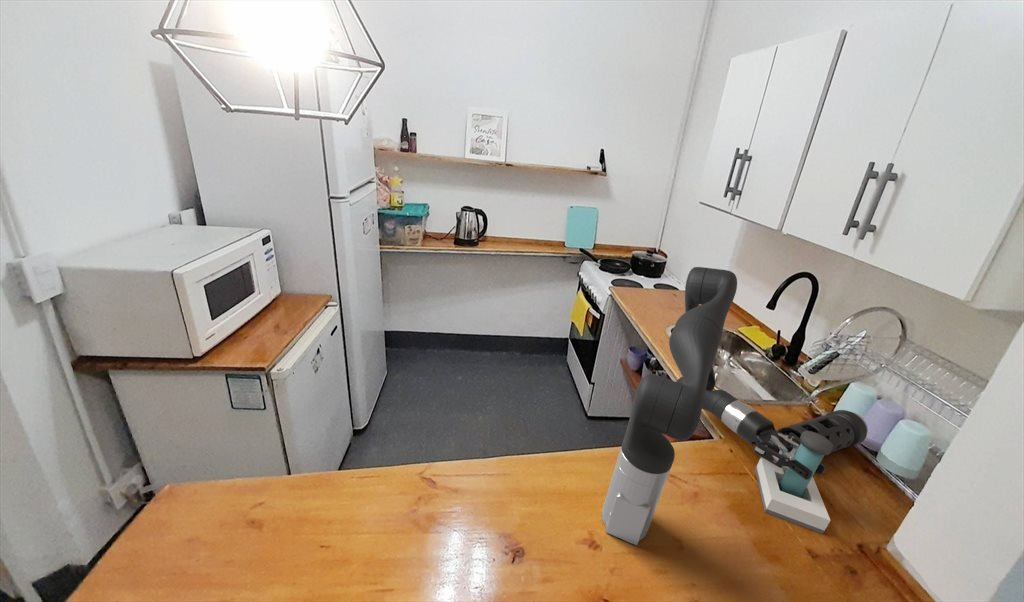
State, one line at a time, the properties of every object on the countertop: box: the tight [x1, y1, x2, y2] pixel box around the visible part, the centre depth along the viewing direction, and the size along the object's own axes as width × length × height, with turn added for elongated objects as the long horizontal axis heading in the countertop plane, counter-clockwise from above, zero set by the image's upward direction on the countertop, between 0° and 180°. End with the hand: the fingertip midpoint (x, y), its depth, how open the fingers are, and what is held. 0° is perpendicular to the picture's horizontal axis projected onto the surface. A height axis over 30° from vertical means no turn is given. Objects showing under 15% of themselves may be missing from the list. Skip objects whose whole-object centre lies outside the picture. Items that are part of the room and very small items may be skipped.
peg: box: [779, 431, 833, 498], centre depth 89 cm, size 6×6×16 cm
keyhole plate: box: [754, 456, 831, 535], centre depth 92 cm, size 14×11×4 cm
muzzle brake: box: [777, 409, 869, 454], centre depth 109 cm, size 10×28×10 cm, turn 115°
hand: (816, 473), depth 87 cm, fingers closed on peg, 4 cm apart
